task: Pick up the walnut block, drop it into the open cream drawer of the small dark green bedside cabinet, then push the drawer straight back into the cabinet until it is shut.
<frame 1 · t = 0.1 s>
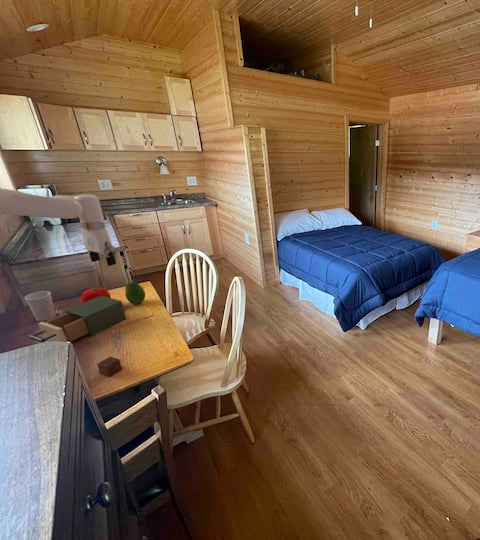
hand: (104, 262, 131), 27 cm above the table, tool pointing down, fingers open, 9 cm apart
block: (111, 371, 108), on the table
tomato: (98, 308, 146), on the table
drawer: (64, 329, 121), point 5 cm above the table, slide at 8.0 cm
fruit: (137, 303, 153), on the table
cup: (46, 319, 135), on the table
cabinet: (99, 324, 134), on the table
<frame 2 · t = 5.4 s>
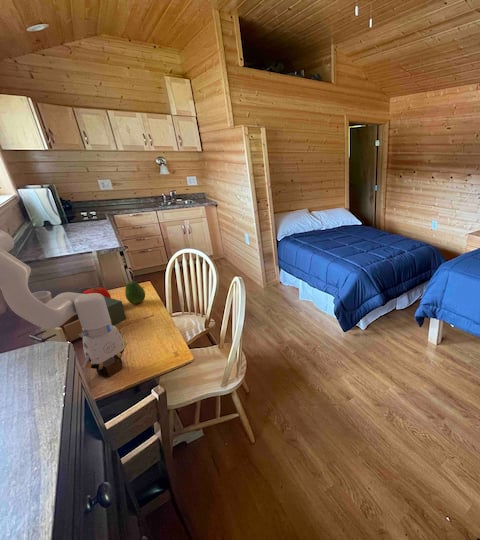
hand: (111, 370, 108), 0 cm above the table, tool pointing down, fingers closed on block, 4 cm apart
block: (111, 371, 108), on the table, touching gripper
everything else where it was.
when the fingers open (10 cm above the table, at t = 12.3 s): block drops 8 cm, resting on drawer.
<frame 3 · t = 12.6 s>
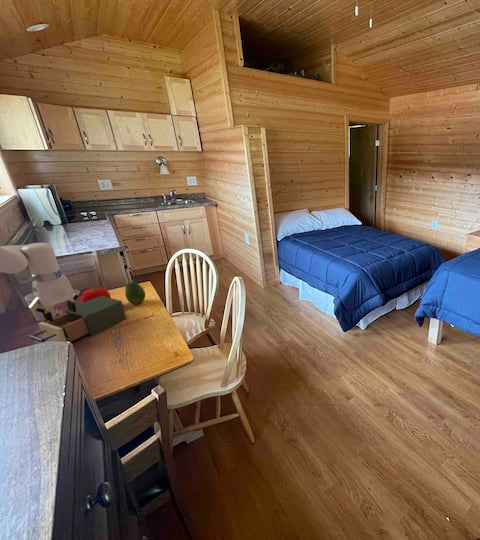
hand: (61, 315, 120), 11 cm above the table, tool pointing down, fingers open, 7 cm apart
block: (68, 334, 123), point 2 cm above the table, touching drawer
drawer: (64, 329, 121), point 5 cm above the table, slide at 8.0 cm, touching block
everything else where it was.
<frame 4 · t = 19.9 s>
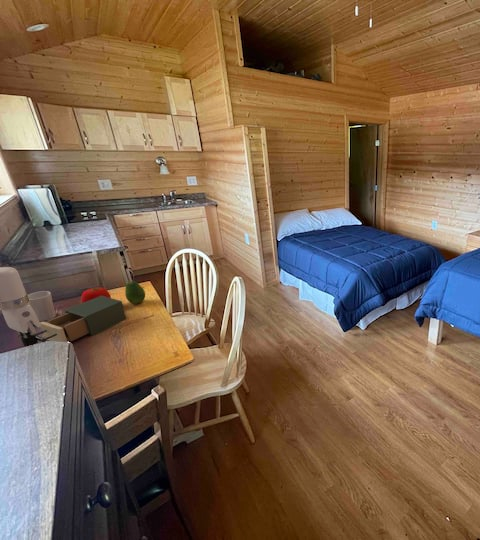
hand: (31, 344, 112), 4 cm above the table, tool pointing down, fingers closed
drawer: (65, 328, 121), point 5 cm above the table, slide at 7.8 cm, touching block, gripper
everything else where it was.
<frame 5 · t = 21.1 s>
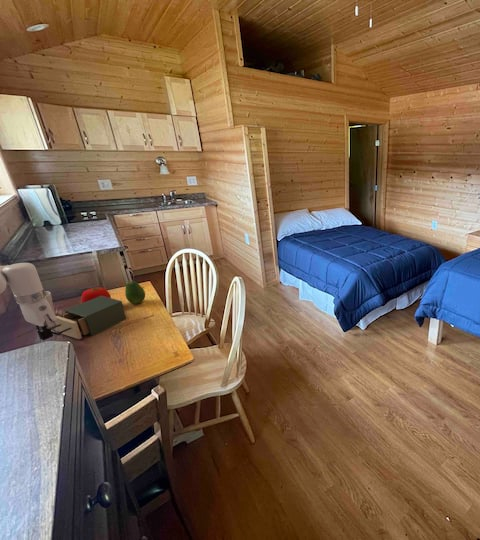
hand: (47, 337, 116), 4 cm above the table, tool pointing down, fingers closed
block: (81, 327, 127), point 2 cm above the table, touching drawer
drawer: (78, 323, 126), point 5 cm above the table, slide at 3.0 cm, touching block, gripper
everything else where it was.
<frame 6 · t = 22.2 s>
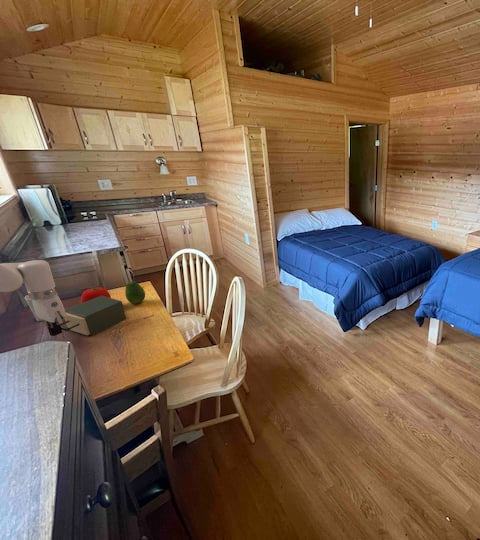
hand: (56, 334, 119), 4 cm above the table, tool pointing down, fingers closed
block: (89, 324, 130), point 2 cm above the table, touching drawer
drawer: (86, 319, 128), point 5 cm above the table, slide at 0.0 cm, touching block, cabinet, gripper
everything else where it was.
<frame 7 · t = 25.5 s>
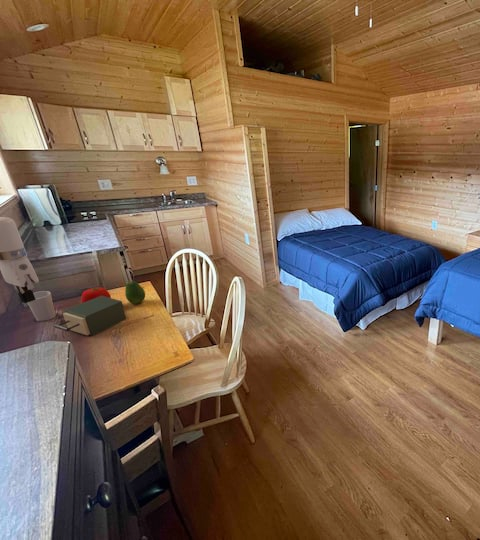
hand: (28, 301, 109), 21 cm above the table, tool pointing down, fingers closed
drawer: (86, 319, 128), point 5 cm above the table, slide at 0.0 cm, touching block, cabinet
everything else where it was.
at the end: block inside the target area in the cabinet (3.6 cm from its centre), point 2.0 cm above the cabinet's base; drawer slide at 0.0 cm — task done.
